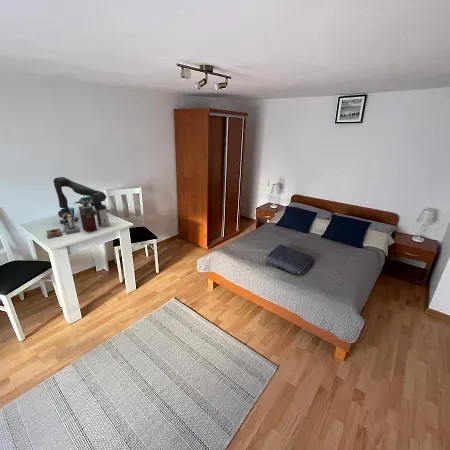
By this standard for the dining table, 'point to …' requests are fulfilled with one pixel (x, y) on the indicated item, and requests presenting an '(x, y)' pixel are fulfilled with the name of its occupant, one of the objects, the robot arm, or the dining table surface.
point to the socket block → (72, 230)
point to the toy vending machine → (87, 217)
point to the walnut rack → (54, 233)
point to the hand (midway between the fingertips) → (70, 222)
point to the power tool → (87, 199)
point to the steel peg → (70, 222)
